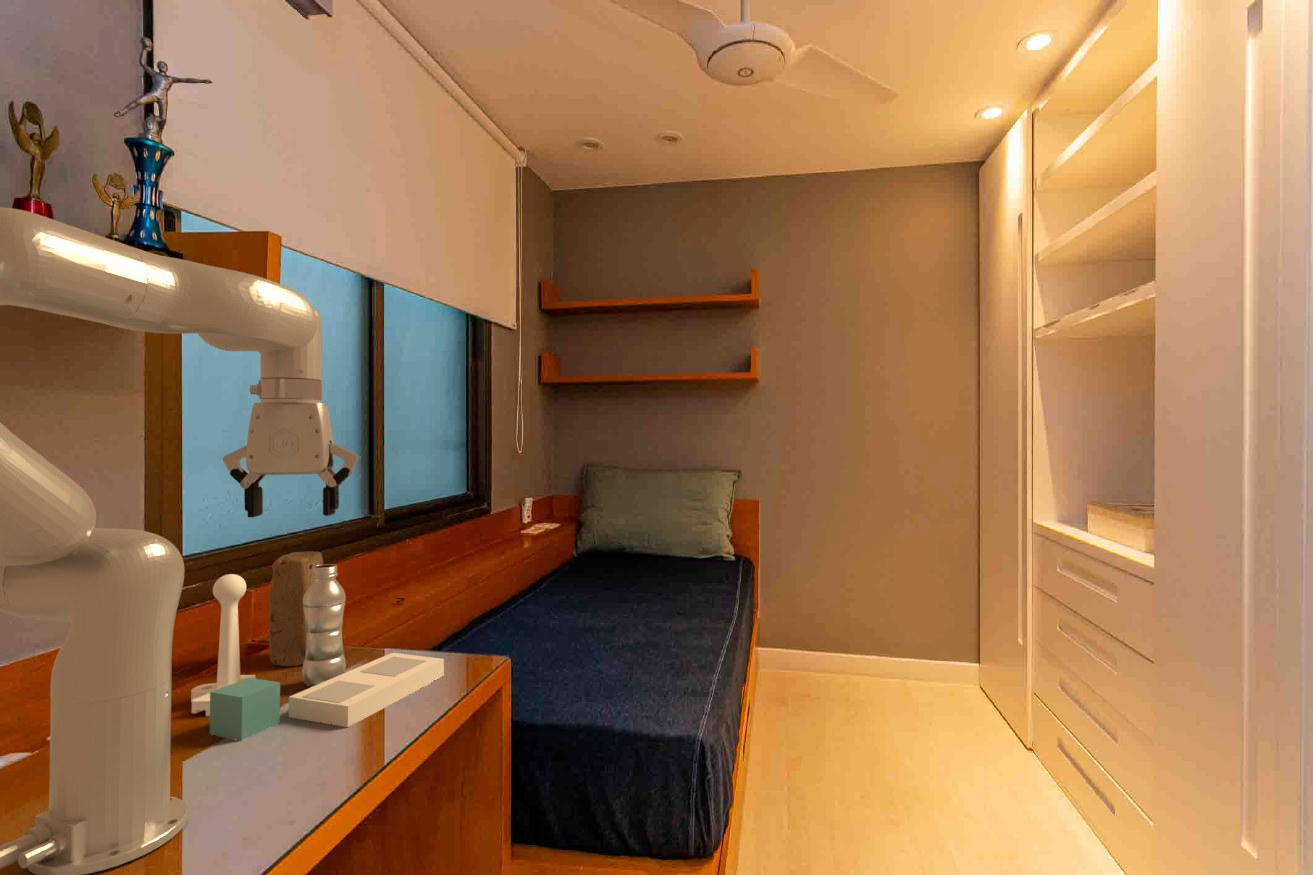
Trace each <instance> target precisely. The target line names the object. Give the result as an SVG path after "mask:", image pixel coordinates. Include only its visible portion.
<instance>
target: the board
mask: <svg viewBox="0 0 1313 875" xmlns="http://www.w3.org/2000/svg"><path fill="white" fill-rule="evenodd" d="M442 676H443V677H444V676H445V658H439V657H430V656H424V655H415V654H414V655H413V654H406V653H398V652H391V653H388V654H386V655H383V656H382V657H379V658H377V659H374V660H372V661H370V662H367V663H365V664H362V665H360V666H358V667H356V668H353V669H350V670H348V671H345V673H344V674H341V675H339V676H337V677H334V678H332V679H330V680H327V681H325V682H323V683H320V684H318V685H316V686H313V687H309V688H306V689H304V690H302V691H298V692H296V693H295V694H292V695H290V696H288V718H291V719H297V720H303V721H309V722H314V723H320V722H322V723H321V724H327V725H331V724H332V726H338V727H343V728H350V727H352V726H353V725H356V724H358V723H359V722H361V721H363V720H364V719H366V718H368V717H370V716H372V715H374V714H376V713H378V712H379V711H381V710H383V709H385V708H387V707H389V706H390V705H392V704H394V703H396V702H399V701H400V700H403V699H404V698H406V697H407V696H410V695H411V694H413V693H415V692H417V691H419V690H420V688H421V689H423V688H424V687H426V686H429V685H431V684H432V683H434V682H435V681H434V680H436V681H437V679H438V680H439V678H440V677H441V678H443V677H442ZM441 678H440V679H441ZM433 681H434V682H433ZM431 682H432V683H431ZM422 687H423V688H422ZM409 694H410V695H409Z"/></svg>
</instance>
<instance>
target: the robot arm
mask: <svg viewBox="0 0 1313 875" xmlns="http://www.w3.org/2000/svg"><path fill="white" fill-rule="evenodd" d="M0 306H14V307H21V308H27V309H31V310H32V309H33V310H37V311H40V312H45V313H46V312H47V313H51V314H55V315H60V316H67V317H71V318H72V317H73V318H76V319H79V320H80V319H81V320H85V321H91V322H94V323H99V324H103V325H107V326H112V327H116V328H121V329H125V330H130V331H136V332H146V333H155V334H157V333H158V334H173V335H174V334H178V335H179V334H182V335H183V334H187V335H189V334H197V335H198V336H199V337H200V338H201V340H203V341H204V342H205V343H206V344H208V345H209V346H211V347H214V348H215V349H218V350H221V351H226V352H256V353H259V354H260V361H259V362H260V363H259V364H260V379H258V383H256V384H252V385H250V386H249V392H250V394H251V395H256V396H258V399H260V402H253V405H252V408H251V413H250V418H249V424H248V430H247V440H246V445H244V446H243V447H241V448H238V449H237V450H234V451H232V452H230V453H228V454H226V455H224V456H223V457H222V462H223V463H224V465H225V467H226V469H227V470H228V471H229V475H230V477H232V478H233V479H234V480H235V481H236V482H238V484H240V485H239V486H240V488H242V489H244V501H243V502H244V510H245V511H246V512H247V518H256V517H259V516H262V515H263V514H264V508H263V507H264V506H263V503H264V502H263V500H264V499H263V498H264V496H263V492H264V491H263V487H262V486H260V483H261V482H262V481H263V479H264V478H265V477H266V476H272V475H273V476H275V475H276V476H277V475H278V476H280V475H282V476H285V475H290V476H292V475H294V476H295V475H313V474H314V475H315V474H317V475H318V477H320V479H321V480H322V481H323V483H325V487H323V488H322V515H323V516H324V517H330V516H332V515H335V514H336V510H338V509H339V507H340V504H339V503H340V496H339V495H340V494H339V492H340V487H339V486H341V485H342V483H343V482H344V481H345V480H346V479H347V478H348V477H350V476H351V474H352V473H353V470H354V469H355V467H356V465H357V463H358V461H359V460H360V457H359V455H358V454H356V453H355V452H352V451H350V450H348V449H345V448H344V447H342V446H340V445H337V444H335V443H334V436H333V430H332V424H331V422H332V421H331V417H330V411H329V408H328V405H327V403H323V381H322V380H323V376H322V375H323V356H322V354H323V345H322V344H323V341H322V338H323V337H322V336H323V333H322V331H323V329H322V327H323V326H322V323H323V322H322V316H321V314H320V312H319V310H317V309H316V308H315V307H314V306H312V304H311V302H310V301H309V300H308V298H306V297H305V296H304V295H303V294H301V293H300V292H299V291H297V290H296V289H293V288H291V287H289V286H287V285H283V284H282V283H278V282H277V281H274V280H273V281H272V280H270V279H267V278H264V277H262V276H259V275H254V274H252V273H248V272H247V273H246V272H243V271H237V270H233V269H227V268H225V267H218V266H213V265H208V264H204V263H199V262H195V261H191V260H187V259H186V260H185V259H181V258H176V257H170V256H165V255H160V254H156V253H152V252H149V251H145V250H143V249H140V248H137V247H134V246H131V245H128V244H125V243H122V242H119V241H117V240H113V239H110V238H108V237H105V236H102V235H99V234H96V233H93V232H91V231H87V230H85V229H81V228H78V227H76V226H72V225H69V224H68V223H64V222H61V221H58V220H55V219H53V218H50V217H47V216H44V215H40V214H37V213H34V212H31V211H27V210H23V209H18V208H12V207H11V208H10V207H3V206H2V207H1V206H0ZM335 456H336V457H338V458H340V459H342V460H343V461H344V462H343V464H342V467H341V468H340V469H339V470H338V471H337V472H335V470H334V469H333V467H334V463H335V462H334V460H335ZM244 459H246V460H245V465H246V470H247V471H248V472H247V471H246V470H245V469H244V468H243V467H242V465H241V460H244ZM96 512H97V511H96V508H95V505H94V503H93V500H92V499H91V498H90V496H89V494H88V493H87V492H86V491H85V490H84V488H82V487H81V486H80V485H79V484H78V483H77V482H75V481H74V480H73V479H72V478H71V477H69V475H67V474H65V472H63V471H62V470H60V469H59V468H58V467H56V466H55V465H54V464H52V463H51V462H50V461H48V460H47V459H46V458H44V456H42V455H41V454H40V453H38V452H37V451H36V450H35V449H34V448H32V447H31V446H29V445H28V443H25V442H24V441H23V440H22V439H20V437H18V436H17V435H15V434H14V433H13V432H12V431H11V430H10V429H9V428H7V426H5V425H4V424H2V422H0V612H2V613H5V614H7V615H9V616H13V617H17V618H20V619H21V618H22V619H26V620H28V619H29V620H37V621H51V622H66V623H70V627H69V631H68V633H67V635H66V637H65V640H63V643H62V645H61V646H60V649H59V651H58V652H57V654H56V657H55V659H54V662H53V666H52V670H51V676H50V695H49V696H50V697H49V698H50V718H49V719H50V723H49V724H50V728H49V731H50V732H49V738H50V739H49V784H48V785H49V788H48V789H49V793H48V794H49V795H48V797H49V798H48V802H49V803H48V805H49V806H48V810H45V811H42V812H41V813H38V814H36V815H35V822H34V824H35V825H34V827H31V828H28V829H27V830H26V831H25V832H24V835H23V836H20V837H19V838H17V839H15V840H14V839H13V840H10V841H8V842H6V843H5V842H4V843H3V844H1V845H0V870H2V869H3V868H5V867H8V866H10V865H12V864H14V863H16V862H18V866H19V867H20V868H22V869H27V871H29V872H30V873H32V874H34V875H89V874H93V873H97V872H101V871H105V870H106V871H107V870H109V869H112V868H115V867H119V866H122V865H123V864H125V863H128V862H131V861H134V860H136V859H138V858H140V857H143V856H145V855H148V854H149V853H150V852H153V851H154V850H156V849H157V848H159V847H161V846H163V845H164V844H166V843H167V842H168V841H170V840H171V839H173V837H175V836H176V835H177V834H178V833H179V832H180V831H181V830H182V829H183V828H184V826H185V825H186V823H187V822H188V821H187V820H188V814H189V813H188V810H189V809H188V806H187V803H186V802H185V801H184V800H183V799H180V798H178V797H175V796H171V747H172V746H171V745H172V744H171V743H172V741H171V740H172V737H171V736H172V734H171V732H172V730H171V728H172V725H171V724H172V721H171V720H172V656H173V655H172V651H173V639H174V637H173V636H174V628H175V627H174V626H175V622H176V616H177V612H178V611H177V610H178V607H179V602H180V598H181V595H182V592H183V588H184V587H183V586H184V580H185V570H186V569H185V563H184V559H183V557H182V554H181V553H180V550H179V549H178V548H177V547H176V546H175V544H173V543H172V542H171V541H170V540H168V539H166V538H165V537H164V536H162V535H159V534H157V533H152V532H149V531H145V530H141V529H134V528H133V529H131V528H130V529H129V528H112V527H110V528H109V527H105V528H102V527H96V524H97V513H96Z"/></svg>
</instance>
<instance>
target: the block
mask: <svg viewBox="0 0 1313 875" xmlns="http://www.w3.org/2000/svg"><path fill="white" fill-rule="evenodd" d="M317 565H324V559H323V554H322V553H321V552H320V551H316V550H315V551H294V552H290V553H289V554H284V555H281V556H280V557H277V559H275V561H274V562H273V563H272V565H271V568H272V577H271V580H270V585H269V591H270V592H269V602H268V611H269V612H268V646H269V647H268V650H269V661H270V663H271V664H273V665H275V666H280V667H297V666H303V663H304V659H305V651H306V640H307V637H306V633H307V631H306V621H305V615H304V608H303V596H304V594H305V592H306V591H307V589H308V588H309V586H310V585H311V584H312V583H313V581H314V579H313V578H312V575H313V567H314V566H317Z"/></svg>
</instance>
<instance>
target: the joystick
mask: <svg viewBox="0 0 1313 875" xmlns="http://www.w3.org/2000/svg"><path fill="white" fill-rule="evenodd" d="M246 591H247V583H246V580H245V579H244V578H243V577H242V576H241V575H238V574H234V573H229V574H224V575H223V576H220V577H218V578H217V579H216V581H215V582H214V584H213V587H212V593H213V594H212V595H213V596H214V598H215V599H216V600H217V602H219V604H220V607H221V608H220V609H221V610H220V623H219V624H220V625H219V638H218V639H219V640H218V641H219V642H218V657H217V674H216V682H213V683H212V682H211V683H204V684H201V685H197V686H195V687H192V688H191V689H190V690H191V691H190V693H191V694H190V703H191V714H198V713H200V712H203V711H205V717H210V692H212V691H215V690H217V689H220V688H223V687H225V686H228V685H231V684H234V683H236V682H239V681H242V680H244V679H247V678H254V679H256V674H241V660H240V658H241V657H240V630H239V608H238V607H239V602H240V600H241V599H242V598H243V597H244V596H245V594H246Z"/></svg>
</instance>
